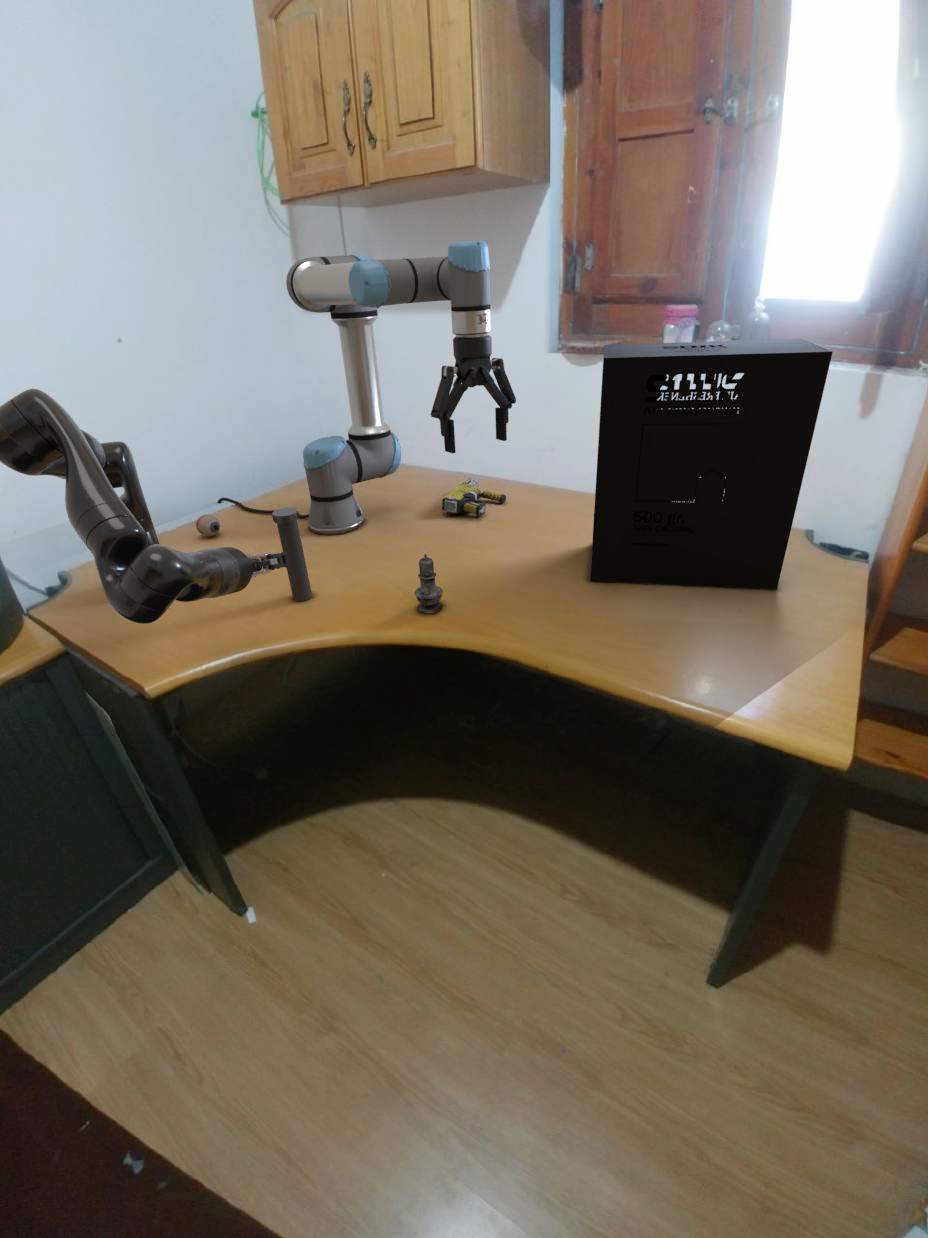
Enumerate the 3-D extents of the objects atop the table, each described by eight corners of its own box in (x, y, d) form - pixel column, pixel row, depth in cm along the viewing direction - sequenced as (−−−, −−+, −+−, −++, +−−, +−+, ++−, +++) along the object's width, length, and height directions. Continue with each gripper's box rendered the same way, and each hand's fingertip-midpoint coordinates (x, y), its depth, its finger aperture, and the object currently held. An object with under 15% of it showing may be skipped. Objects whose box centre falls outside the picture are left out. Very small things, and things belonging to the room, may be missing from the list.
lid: (272, 517, 124) (270, 510, 124) (297, 513, 126) (295, 505, 125) (275, 525, 120) (273, 517, 119) (301, 521, 122) (299, 513, 121)
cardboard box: (756, 549, 141) (800, 338, 118) (776, 589, 124) (832, 351, 101) (592, 544, 148) (604, 344, 126) (590, 580, 131) (603, 357, 109)
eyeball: (209, 541, 163) (203, 520, 160) (195, 537, 166) (188, 517, 163) (227, 533, 168) (222, 513, 165) (213, 530, 171) (207, 510, 168)
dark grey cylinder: (292, 595, 133) (273, 512, 124) (310, 591, 134) (294, 508, 125) (294, 603, 130) (276, 518, 120) (313, 599, 131) (297, 515, 122)
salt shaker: (440, 614, 122) (436, 560, 116) (412, 613, 123) (406, 559, 117) (447, 600, 127) (443, 548, 121) (420, 599, 128) (414, 547, 122)
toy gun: (514, 482, 184) (468, 475, 188) (491, 505, 164) (440, 497, 168) (513, 497, 186) (467, 490, 190) (490, 522, 166) (439, 513, 170)
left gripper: (252, 540, 93) (294, 536, 109) (169, 557, 95) (222, 551, 111) (264, 587, 94) (303, 577, 110) (181, 603, 96) (232, 591, 112)
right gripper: (429, 342, 108) (437, 460, 118) (533, 329, 120) (532, 437, 131) (407, 340, 113) (417, 454, 124) (508, 328, 125) (510, 432, 136)
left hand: (262, 564), depth 110 cm, fingers open, 8 cm apart
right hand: (476, 445), depth 127 cm, fingers open, 13 cm apart
